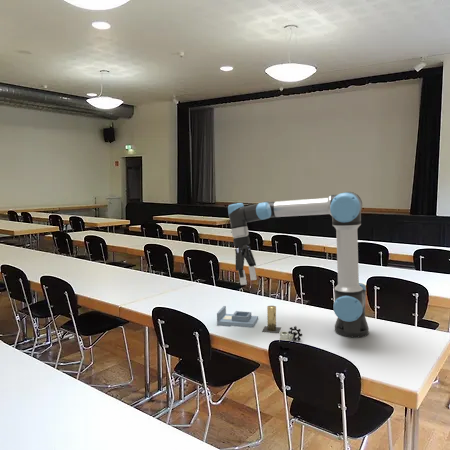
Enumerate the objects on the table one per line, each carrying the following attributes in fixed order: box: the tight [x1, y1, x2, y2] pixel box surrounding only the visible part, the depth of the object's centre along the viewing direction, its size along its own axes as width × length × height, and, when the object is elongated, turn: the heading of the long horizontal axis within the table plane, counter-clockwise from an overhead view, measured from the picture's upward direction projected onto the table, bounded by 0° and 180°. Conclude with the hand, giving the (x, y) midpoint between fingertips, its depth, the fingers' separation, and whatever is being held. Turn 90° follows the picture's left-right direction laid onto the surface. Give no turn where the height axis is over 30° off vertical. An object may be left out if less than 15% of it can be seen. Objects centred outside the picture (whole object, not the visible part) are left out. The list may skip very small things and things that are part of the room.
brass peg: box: [266, 305, 277, 331], centre depth 203 cm, size 4×4×11 cm
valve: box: [279, 325, 303, 342], centre depth 186 cm, size 7×7×12 cm
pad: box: [261, 325, 282, 334], centre depth 203 cm, size 8×8×1 cm
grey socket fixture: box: [216, 305, 259, 328], centre depth 214 cm, size 18×12×6 cm, turn 75°
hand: (248, 282), depth 200 cm, fingers open, 13 cm apart
